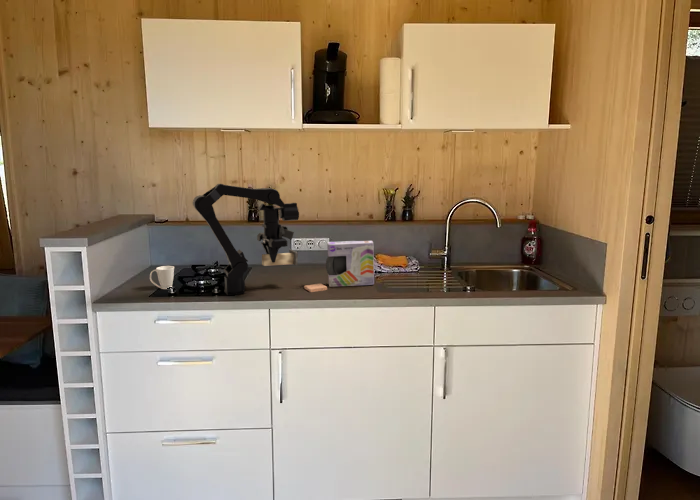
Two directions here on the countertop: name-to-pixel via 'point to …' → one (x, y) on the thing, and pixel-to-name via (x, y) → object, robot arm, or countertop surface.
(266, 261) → the beige block with plate
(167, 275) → the cup
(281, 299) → the countertop surface
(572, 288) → the countertop surface
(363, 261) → the cake pan box
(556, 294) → the countertop surface
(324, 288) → the tile
